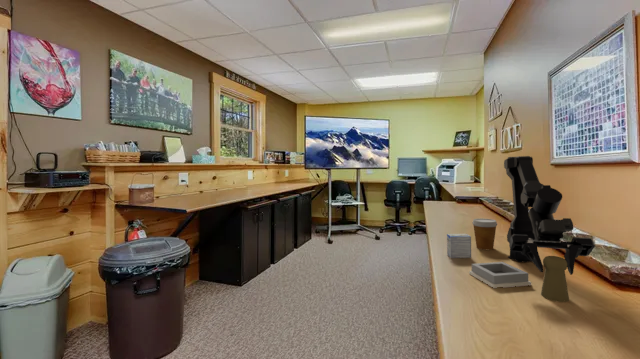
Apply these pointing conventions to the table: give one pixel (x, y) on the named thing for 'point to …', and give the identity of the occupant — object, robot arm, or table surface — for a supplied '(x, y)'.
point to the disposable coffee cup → (484, 233)
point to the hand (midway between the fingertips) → (556, 272)
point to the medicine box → (459, 245)
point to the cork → (555, 279)
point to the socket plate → (499, 274)
